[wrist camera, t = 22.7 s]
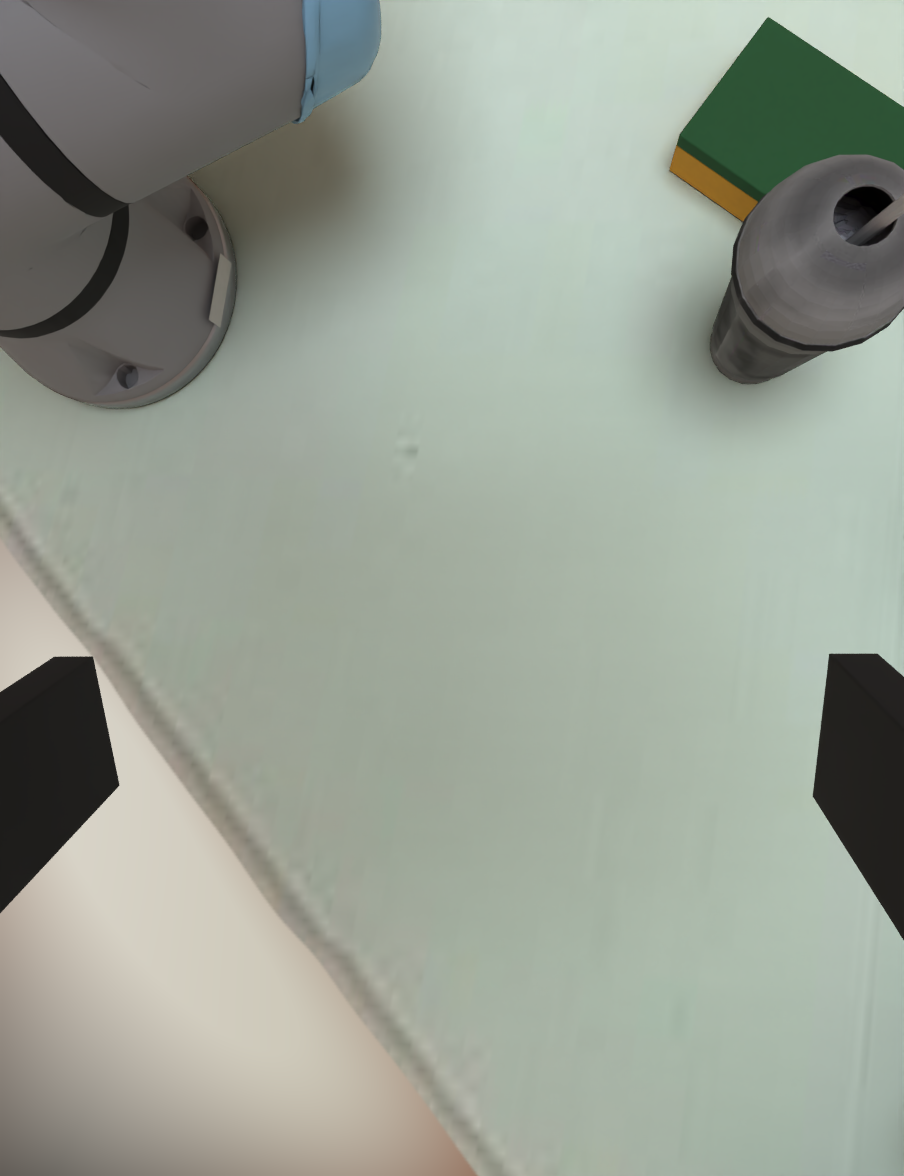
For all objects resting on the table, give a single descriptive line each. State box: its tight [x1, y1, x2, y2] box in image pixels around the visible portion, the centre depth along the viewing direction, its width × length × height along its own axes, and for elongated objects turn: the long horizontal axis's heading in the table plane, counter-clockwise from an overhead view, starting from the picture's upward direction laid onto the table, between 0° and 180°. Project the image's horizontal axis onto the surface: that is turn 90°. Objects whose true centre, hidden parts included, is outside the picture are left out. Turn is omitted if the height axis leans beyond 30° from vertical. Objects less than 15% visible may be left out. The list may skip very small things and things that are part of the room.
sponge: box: [670, 17, 904, 221], centre depth 39 cm, size 11×7×4 cm, turn 52°
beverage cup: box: [710, 155, 904, 384], centre depth 32 cm, size 7×7×20 cm
